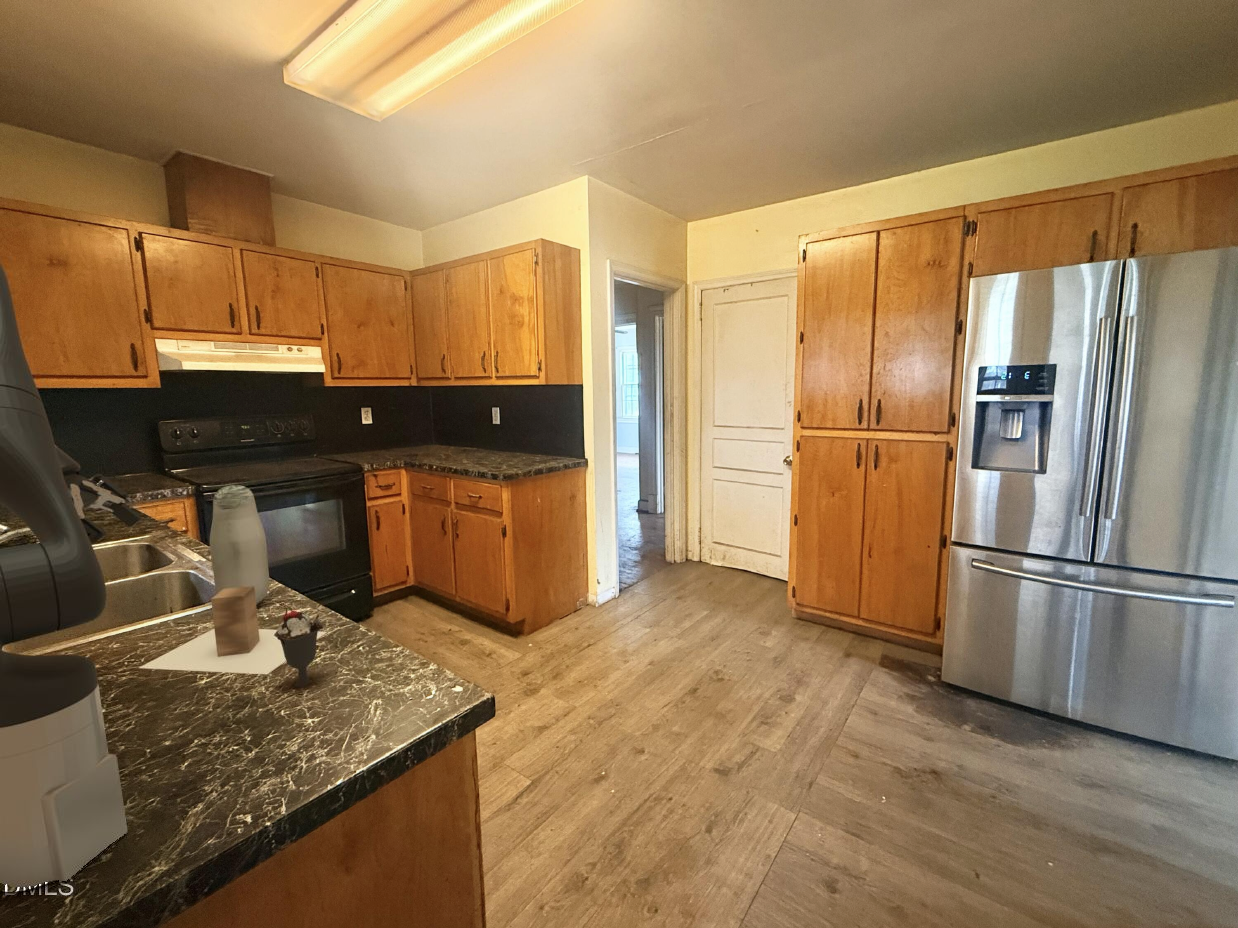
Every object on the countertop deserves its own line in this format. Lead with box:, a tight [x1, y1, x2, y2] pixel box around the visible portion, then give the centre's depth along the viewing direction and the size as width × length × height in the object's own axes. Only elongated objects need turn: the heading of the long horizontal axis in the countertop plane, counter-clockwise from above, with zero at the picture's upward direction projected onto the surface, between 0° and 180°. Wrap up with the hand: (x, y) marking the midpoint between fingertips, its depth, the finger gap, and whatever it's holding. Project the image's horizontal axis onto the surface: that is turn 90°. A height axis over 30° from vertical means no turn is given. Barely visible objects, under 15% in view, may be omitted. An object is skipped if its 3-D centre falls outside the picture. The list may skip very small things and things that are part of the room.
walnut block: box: [210, 586, 260, 657], centre depth 98 cm, size 5×5×11 cm
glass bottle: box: [209, 484, 270, 606], centre depth 118 cm, size 10×10×28 cm
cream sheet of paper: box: [138, 628, 328, 675], centre depth 98 cm, size 24×16×1 cm, turn 85°
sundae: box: [274, 602, 324, 697], centre depth 86 cm, size 7×7×15 cm
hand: (119, 530), depth 89 cm, fingers open, 8 cm apart
